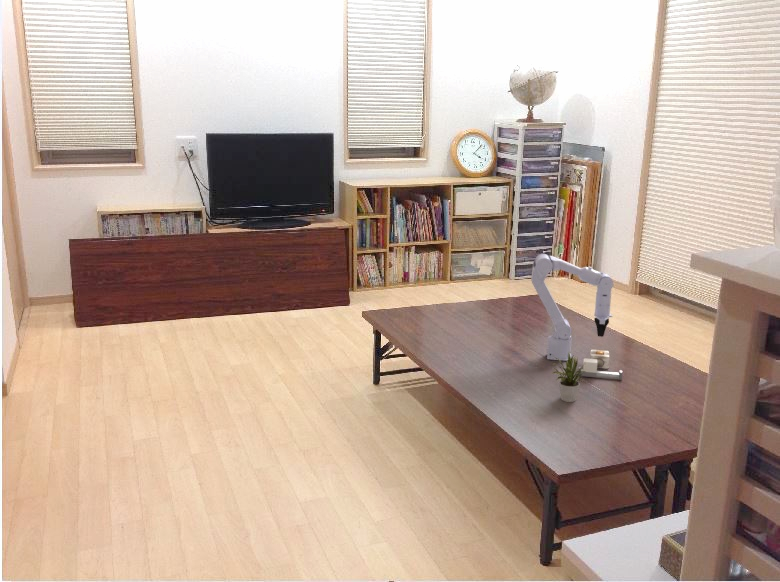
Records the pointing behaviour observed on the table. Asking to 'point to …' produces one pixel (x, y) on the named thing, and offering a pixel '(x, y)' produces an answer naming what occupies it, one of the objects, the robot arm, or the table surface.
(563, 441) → the table surface
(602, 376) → the rail
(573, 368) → the house plant
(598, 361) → the cream cage with ball
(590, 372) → the block
